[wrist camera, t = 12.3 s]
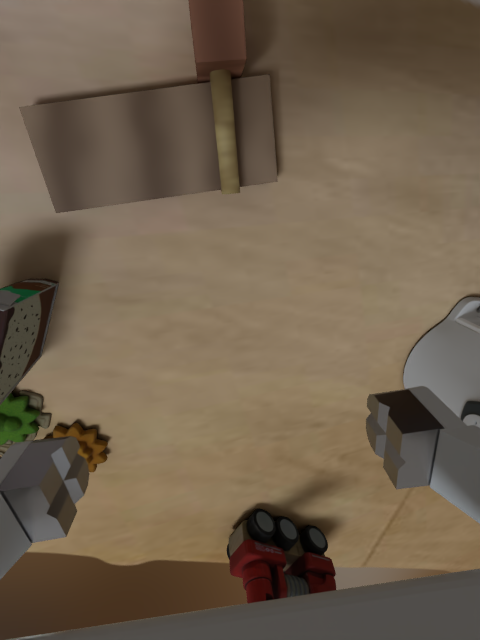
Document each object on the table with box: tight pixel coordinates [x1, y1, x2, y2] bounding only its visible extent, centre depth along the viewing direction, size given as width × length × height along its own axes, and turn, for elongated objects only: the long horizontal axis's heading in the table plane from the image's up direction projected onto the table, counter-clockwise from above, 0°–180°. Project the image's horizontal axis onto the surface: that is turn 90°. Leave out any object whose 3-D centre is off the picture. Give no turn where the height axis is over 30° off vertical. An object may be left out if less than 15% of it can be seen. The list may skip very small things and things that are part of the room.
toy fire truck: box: [227, 509, 336, 603], centre depth 44 cm, size 11×16×18 cm
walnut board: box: [19, 74, 278, 213], centre depth 28 cm, size 20×8×2 cm, turn 97°
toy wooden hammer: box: [189, 0, 247, 194], centre depth 26 cm, size 4×13×6 cm, turn 5°
